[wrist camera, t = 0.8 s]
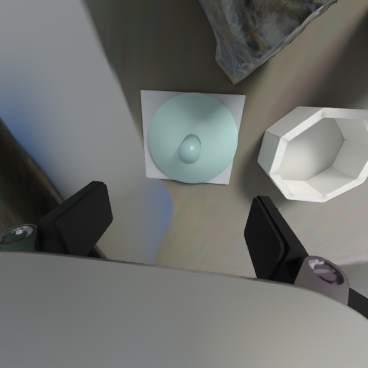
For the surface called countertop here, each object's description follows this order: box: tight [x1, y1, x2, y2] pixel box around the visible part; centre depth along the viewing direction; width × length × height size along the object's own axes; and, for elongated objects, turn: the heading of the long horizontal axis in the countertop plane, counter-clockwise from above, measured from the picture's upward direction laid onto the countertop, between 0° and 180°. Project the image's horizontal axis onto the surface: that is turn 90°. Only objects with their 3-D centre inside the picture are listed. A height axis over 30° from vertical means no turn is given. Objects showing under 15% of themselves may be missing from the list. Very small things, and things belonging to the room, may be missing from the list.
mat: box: [141, 90, 246, 185], centre depth 27 cm, size 14×15×1 cm
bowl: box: [257, 106, 368, 202], centre depth 23 cm, size 12×12×6 cm
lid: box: [148, 93, 238, 183], centre depth 24 cm, size 14×14×6 cm
